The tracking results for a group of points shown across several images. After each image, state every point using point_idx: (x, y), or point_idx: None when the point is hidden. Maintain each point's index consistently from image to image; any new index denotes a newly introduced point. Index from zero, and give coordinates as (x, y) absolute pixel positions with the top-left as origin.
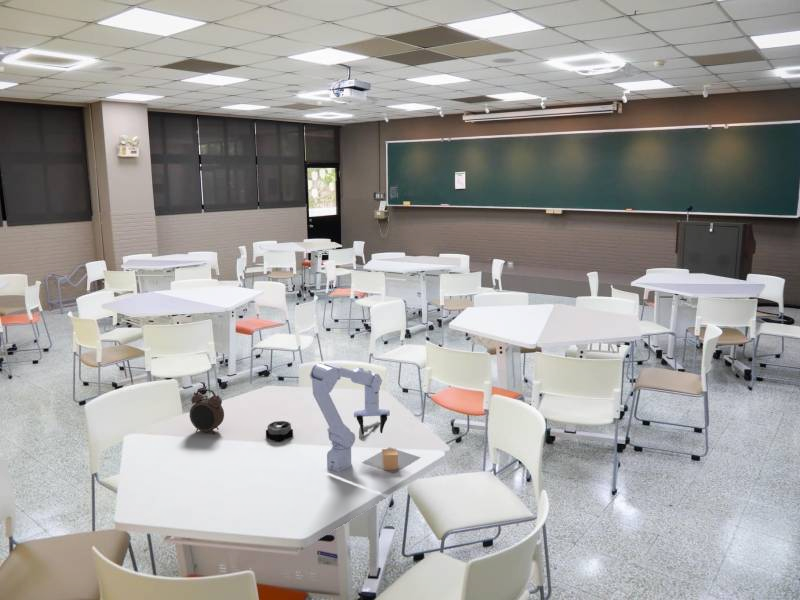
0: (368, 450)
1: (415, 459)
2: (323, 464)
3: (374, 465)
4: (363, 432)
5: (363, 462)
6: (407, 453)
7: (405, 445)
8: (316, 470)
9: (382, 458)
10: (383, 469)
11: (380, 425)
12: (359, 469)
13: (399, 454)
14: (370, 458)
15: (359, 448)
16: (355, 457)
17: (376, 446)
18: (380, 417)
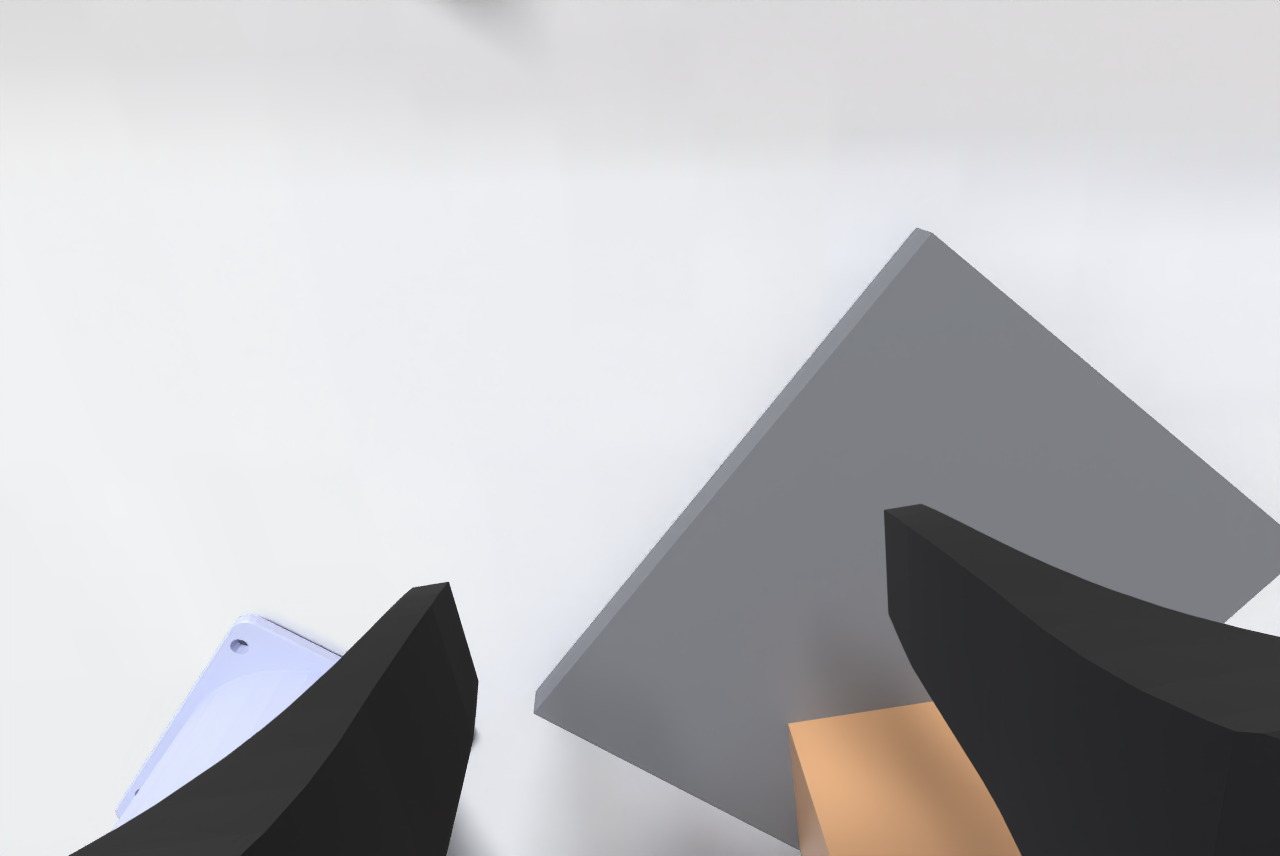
0: (579, 272)
1: (1221, 607)
2: (49, 707)
3: (696, 768)
4: (472, 725)
5: (555, 714)
6: (1166, 444)
7: (1208, 44)
8: (32, 832)
9: (815, 844)
10: (800, 849)
11: (968, 629)
12: (524, 783)
13: (1045, 480)
14: (637, 612)
15: (419, 198)
16: (418, 510)
17: (704, 103)
18: (1148, 814)
